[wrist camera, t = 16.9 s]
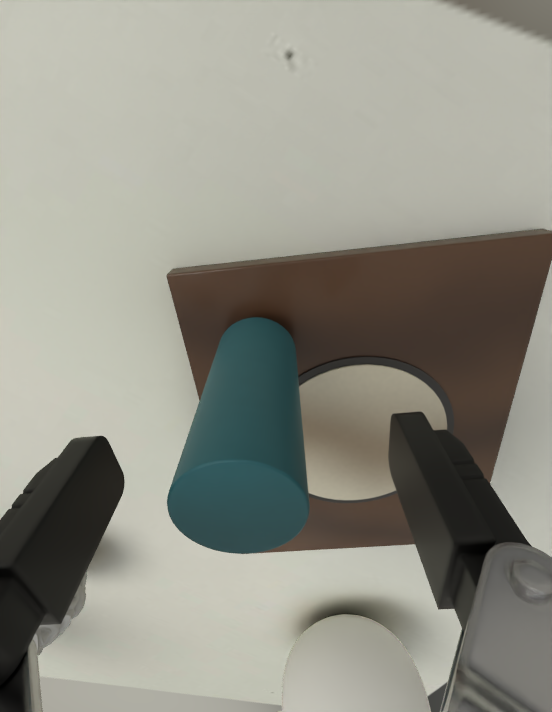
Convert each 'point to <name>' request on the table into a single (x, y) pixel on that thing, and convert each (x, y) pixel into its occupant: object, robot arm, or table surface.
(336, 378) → the wooden board with hole
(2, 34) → the table surface
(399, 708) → the piggy bank
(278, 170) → the table surface
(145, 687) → the table surface
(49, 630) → the grey sculpted head figurine
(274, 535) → the teal cylinder
